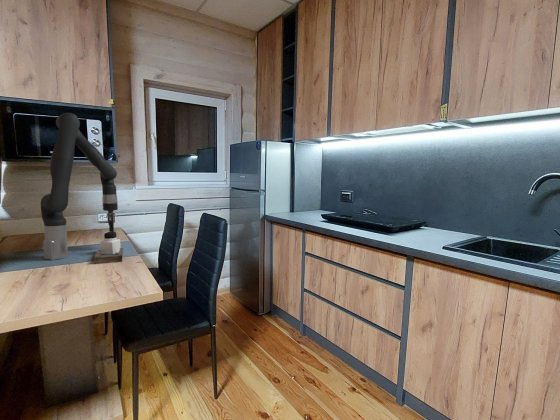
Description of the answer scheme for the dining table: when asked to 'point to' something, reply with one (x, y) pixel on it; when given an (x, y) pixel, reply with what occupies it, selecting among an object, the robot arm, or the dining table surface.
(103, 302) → the dining table surface
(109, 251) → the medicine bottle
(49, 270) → the dining table surface
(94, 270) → the dining table surface
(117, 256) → the u rest
